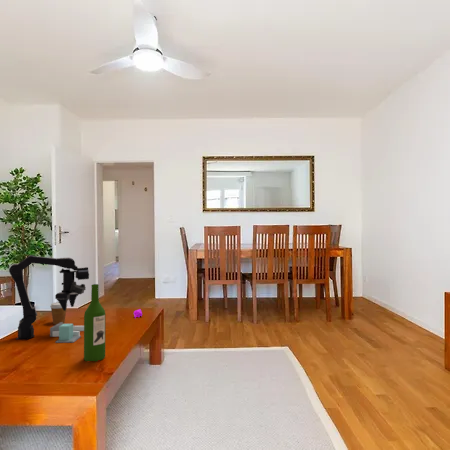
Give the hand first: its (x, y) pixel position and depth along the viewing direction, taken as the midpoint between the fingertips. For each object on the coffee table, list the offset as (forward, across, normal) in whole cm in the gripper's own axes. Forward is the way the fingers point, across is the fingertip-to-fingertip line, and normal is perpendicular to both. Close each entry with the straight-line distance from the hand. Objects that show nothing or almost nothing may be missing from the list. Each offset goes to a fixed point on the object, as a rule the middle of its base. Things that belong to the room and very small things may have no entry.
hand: (68, 308), depth 190 cm
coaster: (+13, -13, -6) cm, 19 cm away
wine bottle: (+13, -38, -29) cm, 50 cm away
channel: (+13, -2, -2) cm, 13 cm away
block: (+12, -13, -5) cm, 19 cm away
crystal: (+13, +33, -30) cm, 46 cm away
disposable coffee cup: (+13, +18, +14) cm, 26 cm away
